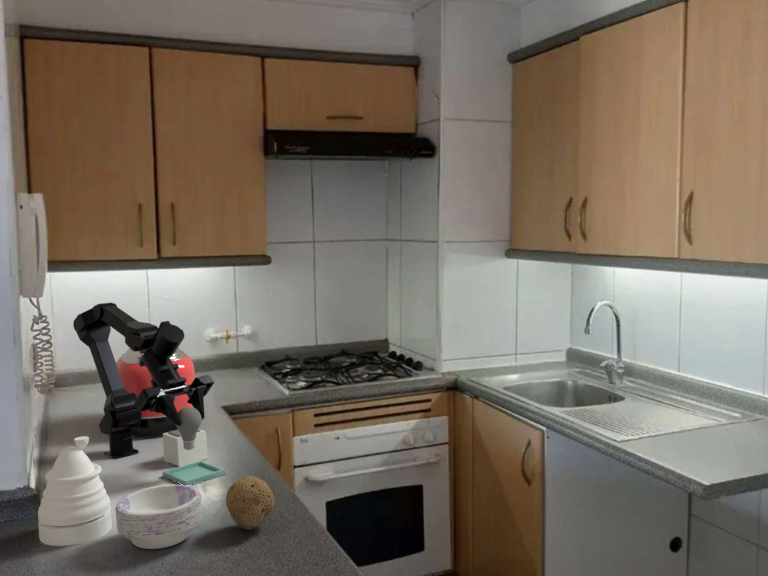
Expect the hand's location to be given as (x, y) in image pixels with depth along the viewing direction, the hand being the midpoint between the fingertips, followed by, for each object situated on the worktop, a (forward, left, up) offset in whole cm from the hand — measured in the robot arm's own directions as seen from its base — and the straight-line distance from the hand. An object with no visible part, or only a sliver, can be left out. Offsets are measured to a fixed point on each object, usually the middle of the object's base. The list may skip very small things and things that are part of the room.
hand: (191, 421), depth 166 cm
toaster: (-50, +18, -13) cm, 55 cm away
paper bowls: (+25, -22, -13) cm, 36 cm away
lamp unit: (-13, +6, -13) cm, 20 cm away
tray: (-1, +1, -13) cm, 13 cm away
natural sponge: (+34, -8, -13) cm, 37 cm away
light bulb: (-1, 0, -7) cm, 7 cm away
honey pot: (+9, -31, -13) cm, 35 cm away
